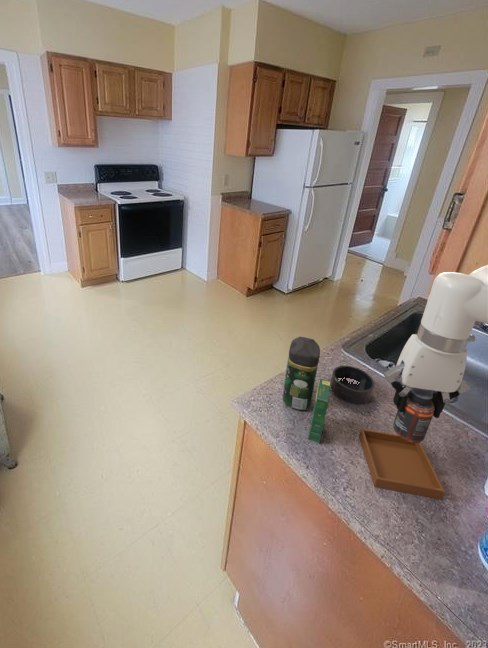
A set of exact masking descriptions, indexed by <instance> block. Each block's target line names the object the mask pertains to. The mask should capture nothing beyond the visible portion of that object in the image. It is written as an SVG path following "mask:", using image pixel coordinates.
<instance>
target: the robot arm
mask: <svg viewBox="0 0 488 648" xmlns="http://www.w3.org/2000/svg"><path fill="white" fill-rule="evenodd" d="M476 322H479V323H482V324H483V323H484V324H487V325H488V264H486V265H484V266H481V267H479V268H477V269H475V270H473V271H472V272H470V273H469V274H466V273H462V272H454V271H446V272H440V273H439V274H438V275H436V277H435V278H434V279H433V283H432V286H431V289H430V292H429V296H428V299H427V301H426V305H425V308H424V311H423V314H422V317H421V320H420V323H419V326H418V329H417V333H415V334H414V333H413V334H411V336H410V337H408V340H407V341H406V343H405V344H404V346H403V348H402V350H401V352H400V355H399V357H398V360H397V362H396V365H395V366H394V367H392V368H390V369H388V370H386V371H385V372H383V376H384V378H385V380H386V381H387V382H388V383H389V384H390V385H391V386H392V388H393V389H394V390H395V391H394V392H395V393H394V396H393V400H392V402H393V404H394V406H395V407H396V409H397V410H398V411H399V412H403V411H404V408H405V405H406V402H407V399H408V398H407V396H406V394H407V393H408V392H409V391H410V390H411V389H412V388H413V387H414V388H420V389H427V390H429V391H433V392H432V394H433V398H432V402H433V404H434V407H435V410H434V413H433V416H432V417H434V418H435V419H439V418H440V416H441V413H442V412H443V410H444V407H445V406H446V404H449V403H451V400H453V399H455V398H457V397H459V396H460V395H461V394H464V393H466V392H469V391H470V390H471V387H470V386H469V384H468V383H467V382H466V381H465V379H464V374H465V372H466V366H467V359H468V348H467V345H468V343H475V341H476V336H475V335H474V334H472V331H473V328H474V327H475V323H476ZM399 376H401V377H400V378H399V379H398V380H397V379H396V378H398V377H399Z"/></svg>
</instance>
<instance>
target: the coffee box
mask: <svg viewBox="0 0 488 648" xmlns="http://www.w3.org/2000/svg"><path fill="white" fill-rule="evenodd" d="M330 383H331V380H326V379H323V378H319V380H318V385H317V389H316V394H315V399H314V405H313V410H312V415H311V421H310V427H309V432H308V437H307V438H308V441H310V442H312V443H315V444H320V443H321V438H322V433H323V428H324V424H325V419H326V416H327V415H326V414H327V411H328V406H329V400H330V392H331V387H330Z"/></svg>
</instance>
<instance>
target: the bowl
mask: <svg viewBox="0 0 488 648" xmlns="http://www.w3.org/2000/svg"><path fill="white" fill-rule="evenodd" d="M344 377H345V379H343V378H344ZM338 378H342V379H343V381H342V379H341V380H340V381H338V380H339V379H338ZM346 378H350V379H354V380H356V381H358V382H360V383H359V384H358V382H357V384H358V385H357V384H353V382H354V381H353V382H351V384H350V382H349V383H348V381H347V380H346ZM330 386H331V387H330V390H331V389H332V390H331V391H332V393H333V392H334V393H333V394H334V395H335V396H336V397H337V398H339V400H341V401H343V402H346V403H349V404H351V405H356V406H357V405H358V406H359V405H365V404H368V403H369V402H370V401H371V399H372V397H373V393H374V389H375V380H374V378H373V377H372V376H371V375H370V374H369V373H368V372H367V371H365V370H362V369H360V368H359V367H355V366H352V365H339V366H336V367H335V368H334V369H333V370H332V374H331V380H330Z"/></svg>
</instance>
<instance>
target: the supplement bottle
mask: <svg viewBox="0 0 488 648" xmlns="http://www.w3.org/2000/svg"><path fill="white" fill-rule="evenodd" d="M406 396H407V398H408V399H407V402H406V405H405V408H404V411H403V412H399V411H398V409H397V410H396V412H395V413H396V414H395V417H394V419H393V423H392V429H393V431H394V432H395V434H397V435H398V436H400V437H401V438H402V439H404V440H406V441H408V442H411V443H422V442H424V440H425V438H426V435H427V433H428V430H429V427H430V425H431V422H432V419H433V417H434V416H433V413H434V410H435V407H434V404H433V402H432V398H433V392H431V390H427V389H420V388H414V387H413V388H412V389H411V390H410V391H409V392H408V393H407V394H406Z"/></svg>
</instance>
